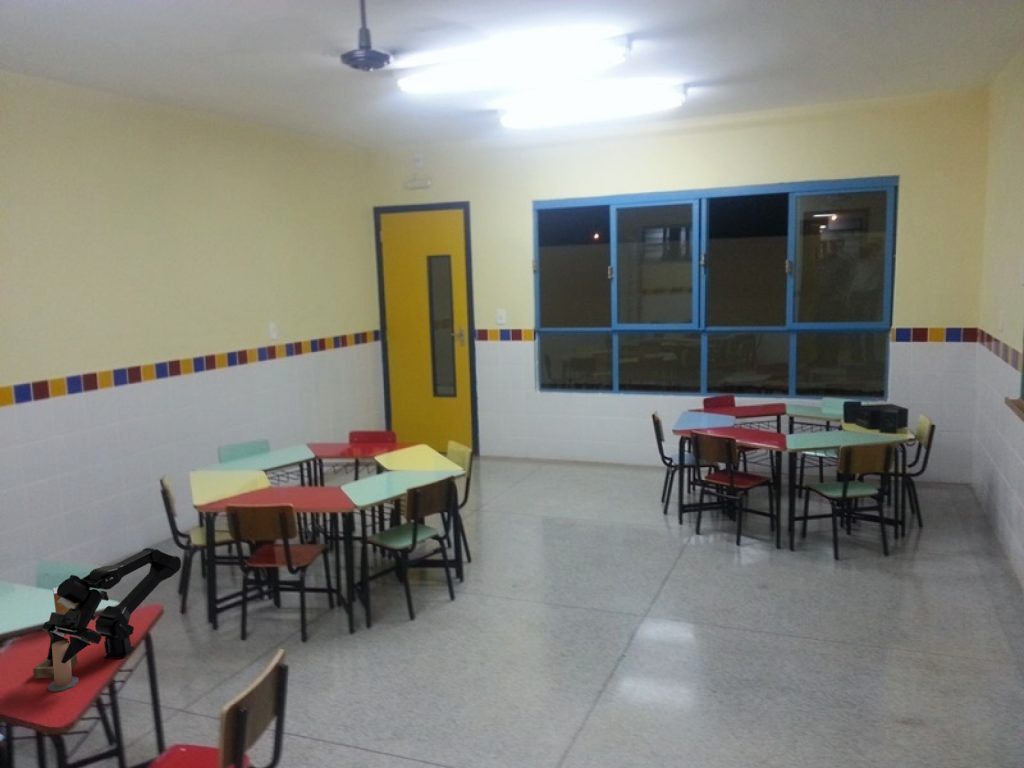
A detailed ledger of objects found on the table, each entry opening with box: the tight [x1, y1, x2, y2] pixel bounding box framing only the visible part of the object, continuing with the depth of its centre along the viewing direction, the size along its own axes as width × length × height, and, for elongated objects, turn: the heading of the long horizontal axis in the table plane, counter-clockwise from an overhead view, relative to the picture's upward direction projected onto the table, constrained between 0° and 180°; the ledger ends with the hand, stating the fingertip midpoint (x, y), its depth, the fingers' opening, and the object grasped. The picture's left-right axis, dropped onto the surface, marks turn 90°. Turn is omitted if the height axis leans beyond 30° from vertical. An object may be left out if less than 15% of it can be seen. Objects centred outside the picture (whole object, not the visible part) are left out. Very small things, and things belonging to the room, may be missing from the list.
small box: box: [52, 586, 77, 613], centre depth 261 cm, size 8×6×13 cm
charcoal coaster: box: [47, 675, 79, 693], centre depth 221 cm, size 8×8×1 cm
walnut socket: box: [32, 654, 79, 679], centre depth 229 cm, size 8×8×3 cm
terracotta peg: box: [52, 639, 73, 687], centre depth 221 cm, size 4×4×12 cm
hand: (55, 661), depth 219 cm, fingers open, 6 cm apart
